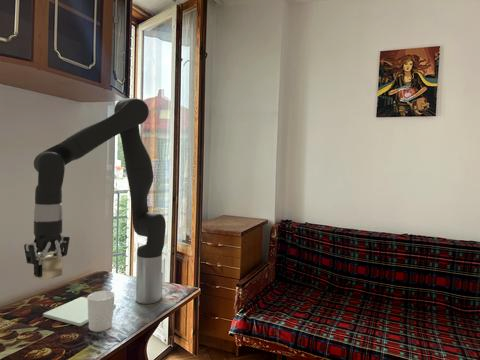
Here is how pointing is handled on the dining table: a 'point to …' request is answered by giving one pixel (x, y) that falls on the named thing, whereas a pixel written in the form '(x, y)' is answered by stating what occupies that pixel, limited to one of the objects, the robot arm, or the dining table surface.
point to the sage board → (71, 312)
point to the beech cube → (50, 267)
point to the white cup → (100, 310)
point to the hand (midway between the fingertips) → (47, 273)
